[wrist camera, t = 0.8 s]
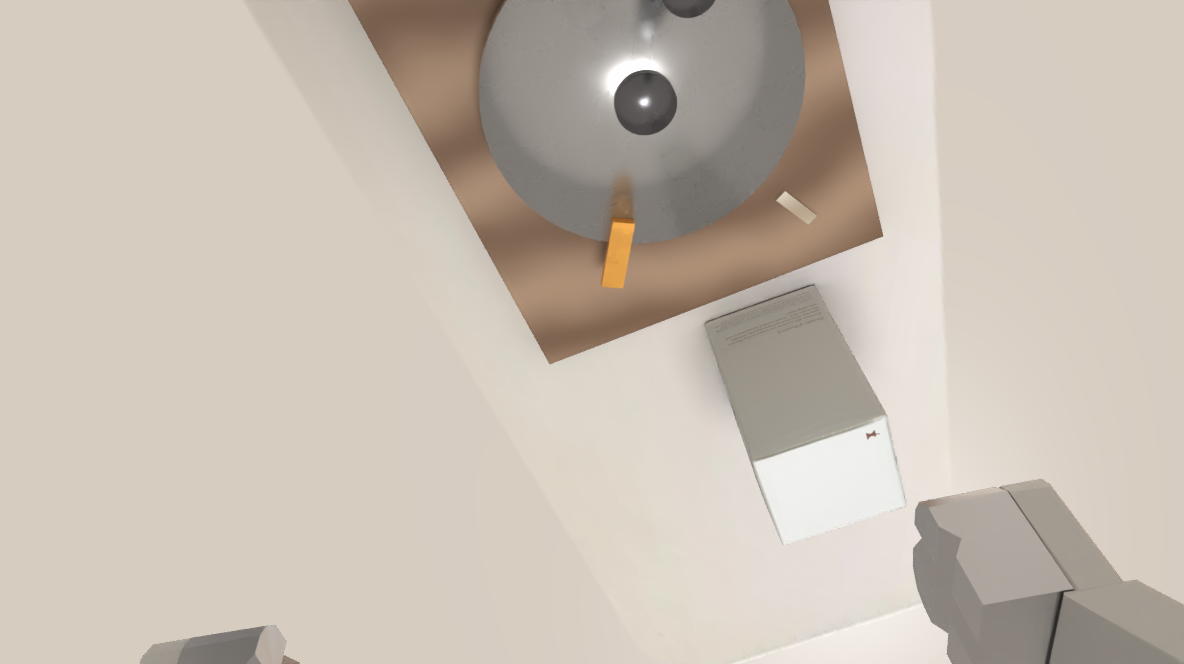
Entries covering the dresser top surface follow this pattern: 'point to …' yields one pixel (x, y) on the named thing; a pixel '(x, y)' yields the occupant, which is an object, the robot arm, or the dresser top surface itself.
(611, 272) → the dial
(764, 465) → the supplement box
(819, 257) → the base board
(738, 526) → the dresser top surface
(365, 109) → the dresser top surface
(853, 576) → the dresser top surface
